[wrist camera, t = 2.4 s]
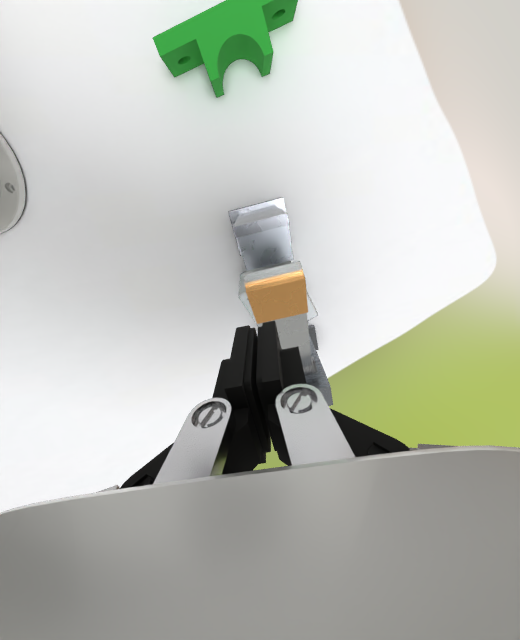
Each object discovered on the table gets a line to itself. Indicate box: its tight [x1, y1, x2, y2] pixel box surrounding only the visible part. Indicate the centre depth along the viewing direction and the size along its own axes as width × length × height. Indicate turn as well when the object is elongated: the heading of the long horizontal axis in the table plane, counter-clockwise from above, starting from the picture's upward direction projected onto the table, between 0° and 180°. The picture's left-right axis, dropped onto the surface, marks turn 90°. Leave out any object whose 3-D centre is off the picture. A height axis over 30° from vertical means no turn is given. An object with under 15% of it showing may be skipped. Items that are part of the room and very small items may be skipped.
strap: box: [243, 261, 317, 376], centre depth 22 cm, size 14×4×2 cm, turn 14°
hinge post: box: [257, 325, 333, 406], centre depth 31 cm, size 4×8×12 cm, turn 103°
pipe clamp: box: [153, 0, 298, 98], centre depth 22 cm, size 11×4×5 cm, turn 110°
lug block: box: [229, 197, 294, 271], centre depth 25 cm, size 5×6×11 cm
